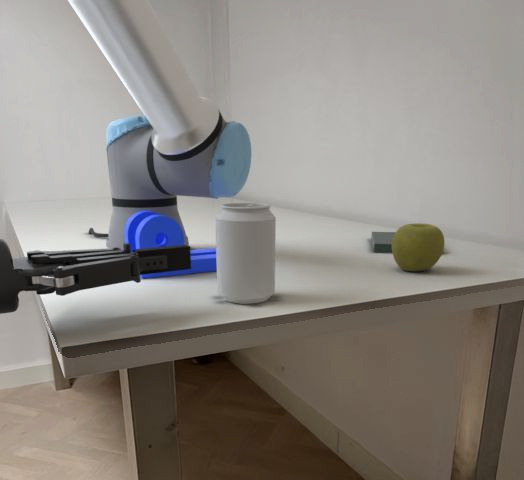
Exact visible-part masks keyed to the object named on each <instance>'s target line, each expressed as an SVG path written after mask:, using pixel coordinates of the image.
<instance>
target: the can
mask: <svg viewBox="0 0 524 480" xmlns="http://www.w3.org/2000/svg"><path fill="white" fill-rule="evenodd" d="M219 207H220V208H221V210H220V211H219V213H217V215H216V216H215V219H214V221H215V248H216V260H217V271H216V290H217V291H216V292H217V293H218V295H219V296H220V297H222V298H223V299H224V301H226V302H229V303H233V304H241V305H242V304H243V305H248V304H252V305H253V304H259V303H263V302H266V301H268V300H269V299H270V298H271V297H272V296H273V295H274V294H275V292H276V234H277V233H276V228H277V225H276V224H277V223H276V222H277V218H276V217H277V216H275V214H274V213H273V212H272V211H271V210H270V208H271V207H272V205H271V204H269V203H263V202H228V203H223V204H220V206H219Z"/></svg>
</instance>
